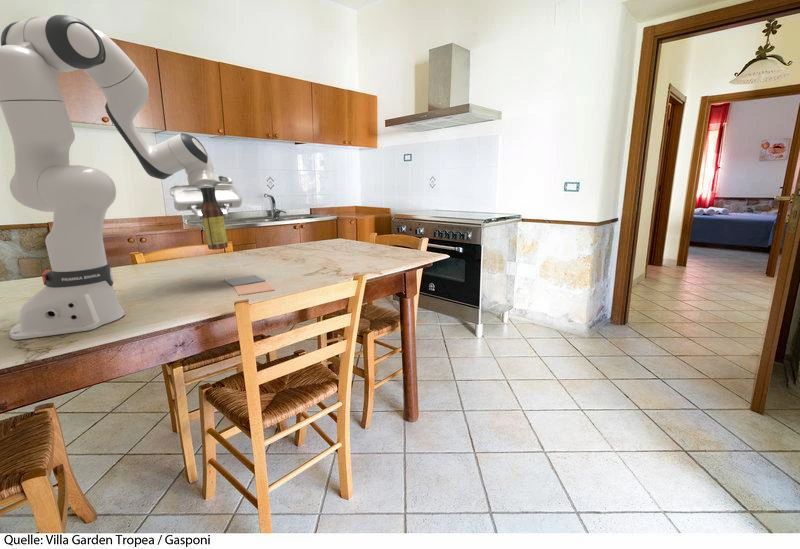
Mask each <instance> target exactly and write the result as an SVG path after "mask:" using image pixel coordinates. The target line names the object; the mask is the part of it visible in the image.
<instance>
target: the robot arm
mask: <svg viewBox="0 0 800 549" xmlns="http://www.w3.org/2000/svg"><path fill="white" fill-rule="evenodd" d="M78 70H79V71H80V70H81V71H83V72H84V73H86V74H87V75H88V76H89V78H90V80H92V81H93V83H95V85H96V86H97V87H98V88H99V90H100V91H102V94H103V95H104V97H105V99H106V103H105V105H104V108H105V112H106V114H107V116H108V118H109V120H110V121H111V122H112V124H113V126H114V127H115V128H116V130H117V131H118V133H119V134H120V135H121V137H122V138H123V140H124V141H125V143H126V144H127V145H128V147H129V148H130V150H131V151H132V153H133V154H134V155H135V156H136V159H137V160H138V162H139V163H140V165H141V167H142V168H143V170H144V171H145V172H146V174H147V175H148V176H150V177H151V178H155V179H159V180H166V179H167V178H169V177H170V176H174V174H175V173H178V172H180V171H182V170H184V172H185V174H186V175H187V177H186V178H187V183H188V184H187V185H186V184H185V185H184V184H183V185H174V186H172V187H170V188H169V194H170V196H171V197H173V206H174V210H176V211H178V212H181V211H183V212H184V211H191V213H193V214H194V215H195V216H196V218H197V220H203V214H202V212H201V208H202V206H203V195H202V192H201V188H202V187H214V188H215V197H216V201H217V203H218V205H219V207H220V209H221V211H222V213H223V218H229V210H230V209H235V208H240V207H241V205H242V203H243V202H242V201H243V200H242V196H241V193H240V192H239V189H238V187H237V186H236V185H234V182H233V179H232V178H231V177H228V176H224V175H220V174H216V173H215V172H214V167H213V163H212V160H211V158H210V156H209V154H208V152H207V150H206V148H205V146H204V145H203V144H202V142H201V141H200V140H198V138H196V137H195V136H193V135H191V134H188V133H185V132H181V133H178V134H176V135H174V136H171V137H170V138H167V139H166V140H164V141H162V142H160V143H157V144H155V145H150V144H147V142H146V140H145V139H144V138H143V136H142V135H141V133H140V131H139V130H138V129H137V127H136V126H135V124H134V122H133V121H134V119H135V117H136V116H137V115H138V113H139V112H140V111H141V110H142V109H143V108H144V107H145V105H146V103H147V101H148V98H149V94H150V88H149V84H148V82H147V80H146V78H145V76H144V74H143V73H142V72H141V71H140V69H139V68H138V67H137V65H136V64H135V63H134V62H133V61H132V59H130V57H129V56H128V55H127V54H126V53H125V51H123V49H121V47H119V45H118V44H117V43H116V42H115V41H114V40H112V39H111V38H110V36H108V35H107V34H106V33H104V32H103V31H101V30H99V29H96V28H92V27H91V26H90V25H89V24H88V23H86V22H85V21H84V20H81V19H80V18H78V17H75V16H73V15H65V14H55V15H53V16H52V15H51V16H50V15H49V16H33V17H29V18H25V19H23V20H20V21H19V20H18V21H14V22H11V23H10V24H8V25H7V26H5V28H3V31H2V32H1V36H0V108H1V110H2V113H3V115H4V119H5V122H6V124H7V127H8V130H9V132H10V135H11V139H12V143H13V150H14V164H15V166H14V173H13V176H12V178H11V179H10V181H9V190H10V193H11V195H12V197H13V198H14V200H15V201H17V202H18V204H20V205H22V206H24V207H27V208H30V209H33V210H36V211H39V212H40V211H41V212H45V213H46V212H47V213H53V221H52V226H51V230H50V231H49V233H48V234H47V235H46V236H45V237H46V238H45V239H44V240H45V246H46V250H47V256H48V259H49V263H50V268H51V269H45V270H44V271H43V272H42V275H41V276H42V282H43V285H44V286H45V287H43V288H42V289H41V290H39V291H38V292H37V293H35V294H34V295H33V296H32V297H31V298H29V300H27V301H26V302H25V303H24V304H23V305H22V307H21V309H20V314H19V323H17V324H15V325H14V326H12V328H10V331H9V338H10V339H12V340H14V341H17V340H25V339H27V340H28V339H32V338H43V337H48V336H56V335H63V334H70V333H80V332H86V331H93V330H95V329H97V328H99V327H101V326H103V325H106V324H110V323H112V322H115V321H117V320H119V319H121V318H122V317H124V315H125V314H126V313H125V311H124V309H123V307H122V305H121V304H120V302H119V299H118V297H117V294H116V291H115V288H114V286H113V285H114V278H113V271H112V268H111V266H110V264H109V263H108V260H107V255H106V248H105V244H104V238H103V236H104V235H103V233H104V232H103V231H104V221H105V217H106V213H107V211H108V209H109V208H110V207H111V205H112V204H113V203H114V202H115V200H116V198H117V187H116V185H115V182H114V180H113V178H111V177H110V175H109V174H107V173H106V172H104V171H103V170H101V169H98V168H93V167H90V166H85V165H78V164H75V165H71V163H70V149H71V146H72V144H73V143H74V141H75V137H76V135H75V131H74V128H73V125H72V122H71V119H70V116H69V113H68V110H67V106H66V104H65V101H64V98H63V95H62V93H61V90H60V87H59V86H58V85H59V84H58V75H59V73H62V74H63V73H70V72H76V71H78ZM222 209H223V210H222Z"/></svg>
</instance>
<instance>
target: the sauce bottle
mask: <svg viewBox="0 0 800 549" xmlns="http://www.w3.org/2000/svg"><path fill="white" fill-rule="evenodd" d="M201 192H202V195H203V206H202V208H201V210H200V212H202V214H203V219H202V224H203V229H204V235H205V239H206V244H207V248H208V250H214V251H215V250H216V251H217V250H223V249H227V248H228V243H229V242H228V236H227V229H226V223H225V217H223V213H222V208H220V207H219V205H218V203H217V201H216V197H215V188H214V187H202V188H201Z"/></svg>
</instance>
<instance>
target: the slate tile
mask: <svg viewBox="0 0 800 549" xmlns="http://www.w3.org/2000/svg"><path fill="white" fill-rule="evenodd" d="M223 282H225V283H226V284H228V285H229V284H230V285H229V286H231V287H232V286H233V288H234V286H241V285H248V284H256V283H264V282H266V279H264V278H263V277H262V278H261V277H260V276H258V275H255V274H251V275H246V276H238V277H234V278H233V277H232V278H226V279H223Z"/></svg>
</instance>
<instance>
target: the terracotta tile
mask: <svg viewBox="0 0 800 549" xmlns="http://www.w3.org/2000/svg"><path fill="white" fill-rule="evenodd" d="M234 288H235V289H234ZM233 289H234V290H235V292H236V293H238V294H237V295H238V296H239V297H240V295H242V296H248V295H255V294H261V293H262V294H263V293H269V292H274V291H276V290H275V288H274V286H272V284H270V283H269V282H268V281H265V282H259V283H254V284H248V285H241V286H234V287H233Z"/></svg>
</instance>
